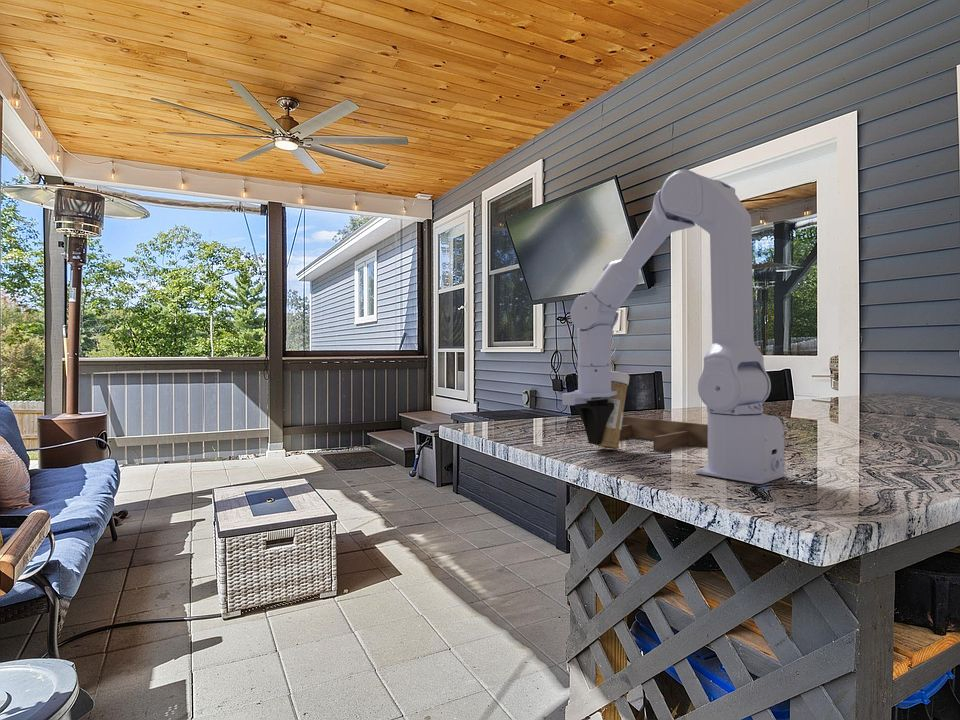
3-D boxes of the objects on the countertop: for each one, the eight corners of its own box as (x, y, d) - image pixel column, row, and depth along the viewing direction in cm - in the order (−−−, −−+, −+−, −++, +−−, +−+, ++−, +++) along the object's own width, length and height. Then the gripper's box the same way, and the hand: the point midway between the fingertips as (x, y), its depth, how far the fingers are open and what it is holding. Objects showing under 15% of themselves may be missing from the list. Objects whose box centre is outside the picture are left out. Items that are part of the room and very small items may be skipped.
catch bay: (712, 447, 106) (712, 424, 106) (678, 454, 99) (678, 430, 99) (614, 434, 123) (614, 415, 123) (579, 439, 116) (579, 419, 116)
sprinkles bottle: (623, 450, 103) (634, 376, 106) (608, 446, 100) (621, 370, 103) (601, 447, 107) (613, 375, 109) (587, 443, 104) (599, 369, 106)
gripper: (602, 364, 110) (603, 436, 110) (548, 366, 100) (549, 445, 101) (634, 365, 104) (634, 441, 104) (580, 367, 95) (580, 451, 95)
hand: (594, 443), depth 102 cm, fingers closed
